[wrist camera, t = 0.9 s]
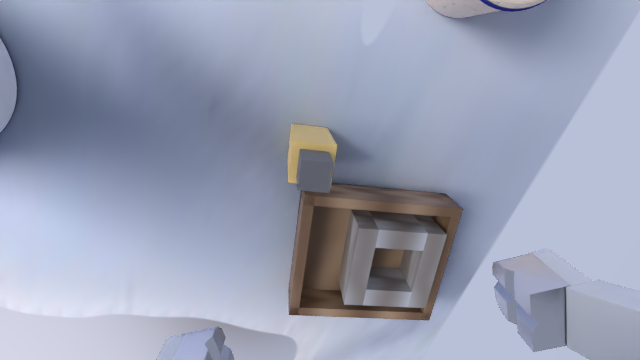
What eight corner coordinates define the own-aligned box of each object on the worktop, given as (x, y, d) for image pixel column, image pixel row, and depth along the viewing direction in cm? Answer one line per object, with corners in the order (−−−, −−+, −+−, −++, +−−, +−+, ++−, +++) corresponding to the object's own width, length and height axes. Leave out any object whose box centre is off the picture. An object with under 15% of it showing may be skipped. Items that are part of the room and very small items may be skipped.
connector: (287, 158, 35) (288, 196, 26) (291, 123, 34) (294, 150, 24) (322, 161, 35) (335, 201, 26) (327, 127, 34) (343, 155, 25)
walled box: (288, 290, 41) (289, 321, 36) (302, 180, 36) (305, 199, 31) (416, 296, 43) (432, 326, 38) (445, 193, 38) (467, 213, 33)
